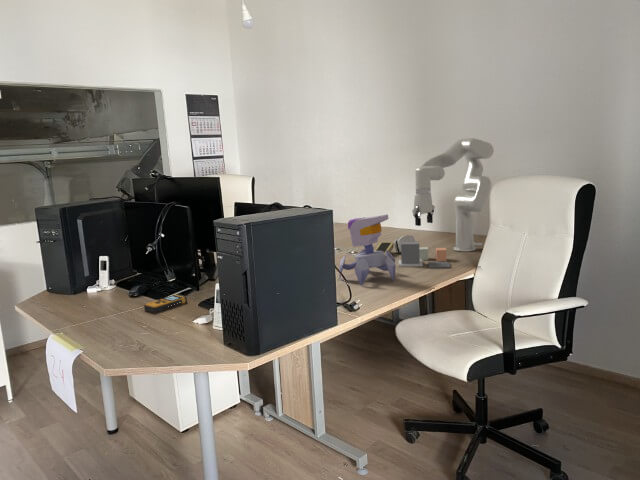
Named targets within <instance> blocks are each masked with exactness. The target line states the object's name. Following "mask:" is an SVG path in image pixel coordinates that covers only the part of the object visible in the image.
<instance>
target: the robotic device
mask: <svg viewBox="0 0 640 480" xmlns="http://www.w3.org/2000/svg"><path fill="white" fill-rule="evenodd" d="M389 218H390V217H389V214H383V215H376V216H369V217H359V218H358V217H357V218H353V219H352V218H351V219H349V220H348V222H347V229H348V230H349V234H350V239H351V245H352V247H353V248H355V247H364V248H362V249H361V250H360V251H359V252H358V254H355V255H354V258H355V262H350V263H345V261H346V255H347V254H345V255H343V257H342V258H341V259H340V262H339V270H338V271H340V272H341V275H340V274H339V273H338V275H339V278H341V277H342V272H343V270H346V271H351V270H354V272H355V273H354V274H355V275H356V278H357V280H358V283H359V285H360V286H361V287H362V286H363V285H364V283H365V281H366V280H367V277H368V275H369V273H370V272H371V269H373V268H377V269H379V270H381V271H384V272H388V273H389V275H390V277H391V280H392V281H391V282H394V281H395V275H396V269H397V268H396V259H395V257H394V256H393V255H392V253H391V252H390V253H389V252H388V251H387V250H386V252H385V255H386V259H385V255H384V252H383V251H374V250H375V249H374V244H377V243H378V240H379V237H380V236H381V235H382V223H383V222H385V221H387V220H389Z"/></svg>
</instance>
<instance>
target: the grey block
mask: <svg viewBox="0 0 640 480" xmlns="http://www.w3.org/2000/svg"><path fill="white" fill-rule="evenodd" d="M419 256H420V260H422V261H429V247H428V246H423V247H422V246H421V247H420V246H419Z"/></svg>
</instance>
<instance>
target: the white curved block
mask: <svg viewBox="0 0 640 480" xmlns="http://www.w3.org/2000/svg"><path fill="white" fill-rule="evenodd" d="M393 242H394V248H395V252H396V254H399V253H400V254H401V242H417V241H416V239H415V237H414V235H411V234H410V235H403V236H400V237H397V238H396V239H395V240H394V241H393Z"/></svg>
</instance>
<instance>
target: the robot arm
mask: <svg viewBox="0 0 640 480" xmlns="http://www.w3.org/2000/svg"><path fill="white" fill-rule="evenodd" d="M494 149H495V148H494V146H493V145H492V144H491V143H490V142H487V141H484V140H481V139H478V138H475V137H474V138H460V139H457V140H456V141H455V142H454V143H453V144H451V146H449V147H448V148H447V149H446V150H445V151H444V152H442V153H440V154H437V155H435V156H433V157H431V158H429V159H428V160H426V161H425V162H424V163H422V165H421V166H420V167H417V168H416V169H415V172H414V173H415V195H414V199H413V200H414V202H413V209H412V211H411V212H412V215H413V217H414V221H415V223H414V225H415V226H418V227H421V225H422V218H421V216H422V215H424V214H425V215H426V223H428V224H433V218H434V217H433V216H434V212H435V208H436V207H435V205H433V198H432V197H433V196H432V191H431V187H432V185H431V181H441V180H443V178H444V177H445V174H446V171H445V169H444V168H448V167H451V166H454V165H456V163H458V162H459V161H460V160H461V159H462V158H463V157H464V158H465V160H466V164H467V168H466V171H465V175H464V178H463V181H462V185H461V186H462V187H461V188H462V191H464V192H466V193H459V194H457V195H456V196H455V197H454V200H453V207H454V210H455V211H454V212H455V246H453V247H452V250H453V251H456V252H463V253H464V252H465V253H466V252H474V251H476V250H477V247H482V246H483V243H482V242H475V241H474V216H473V213H480V212H482V211H483V210H484V209H485V207H486V205H487V201H488V198H489V195H490V192H491V189H492V182H491V179H490V178H489V177H488V176H486V175H483V172H484V166H483V163H482V162H481V159H483V160H486V159H490V158H491V157H492V156H493V154H494ZM472 212H473V213H472Z"/></svg>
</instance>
